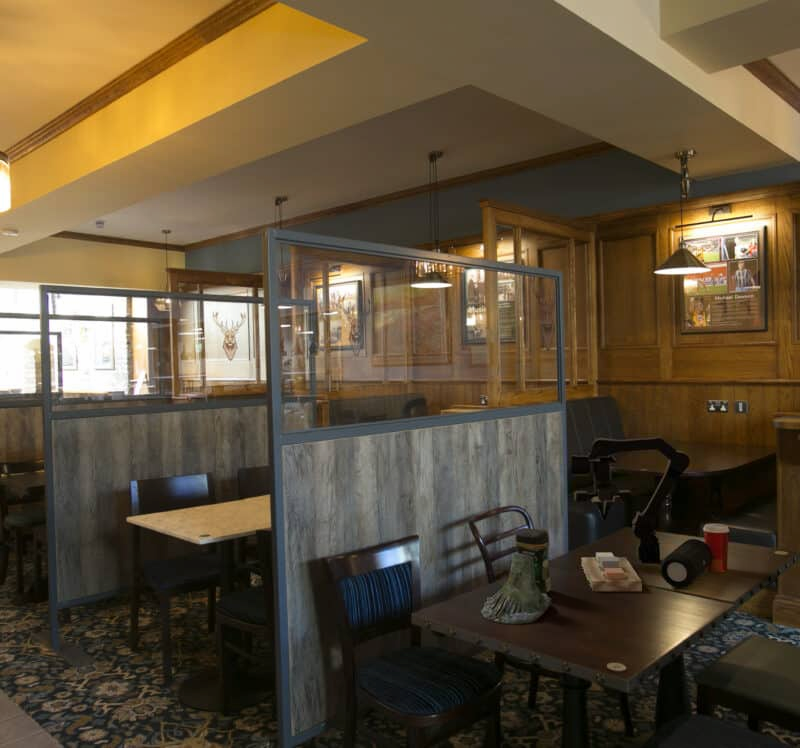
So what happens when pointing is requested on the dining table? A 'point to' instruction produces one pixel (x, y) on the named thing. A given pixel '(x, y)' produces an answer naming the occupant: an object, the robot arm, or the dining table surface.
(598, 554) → the beige cube
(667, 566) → the portable speaker
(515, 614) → the tree stump
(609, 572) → the brown cube
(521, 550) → the coffee jar
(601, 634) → the dining table surface
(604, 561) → the grey cube
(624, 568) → the beige flat board
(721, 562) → the paper cup
